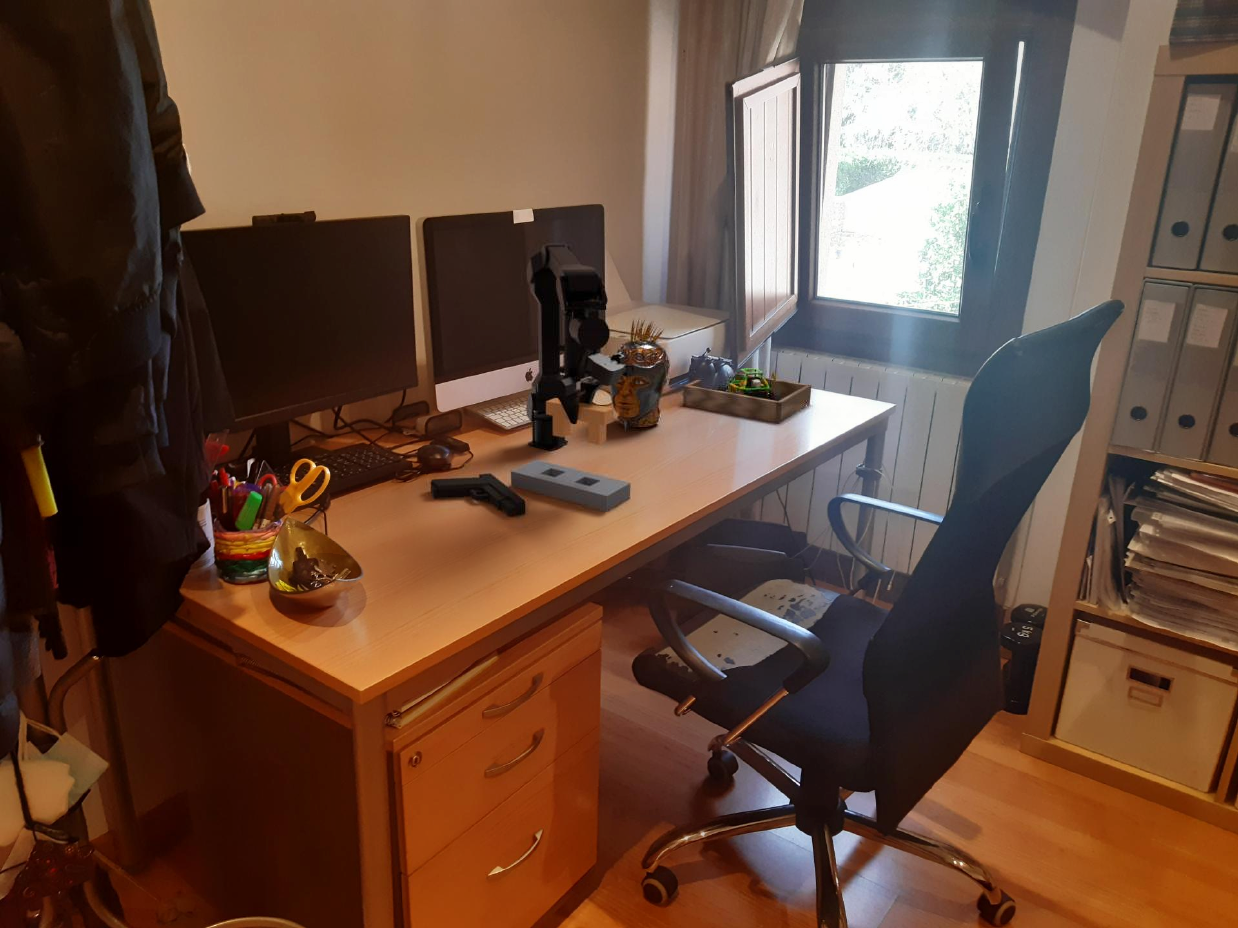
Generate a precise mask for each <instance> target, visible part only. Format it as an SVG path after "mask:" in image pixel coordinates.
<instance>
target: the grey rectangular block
mask: <svg viewBox="0 0 1238 928" xmlns="http://www.w3.org/2000/svg"><path fill="white" fill-rule="evenodd" d="M510 486H511V487H514V488H518V489H520V490H521V489H522V490H525V491H529V492H533V493H536V494H541V495H544V496H548V497H552V498H556V499H559V500H563V501H566V502H570V503H573V504H578V505H582V506H585V507H589V508H592V509H595V510H599V511H602V512H603V511H604V512H608V511H610V510H612V509H614V508H616V507H617V506H619V505H621V504H622V503H624V502H626V501H627V500H628V499H631V482H628V481H624V480H620V479H617V478H616V479H615V478H612V477H607V476H603V475H599V474H596V473H591V472H587V471H583V470H580V469H575V468H571V467H566V466H563V465H559V464H555V463H550V462H547V461H543V460H538V459H535V460H532V461H531V462H529V463H526V464H524V465H521V466H519V467H517V468H515V469H513V470H510Z"/></svg>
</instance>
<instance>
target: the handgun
mask: <svg viewBox="0 0 1238 928" xmlns="http://www.w3.org/2000/svg"><path fill="white" fill-rule="evenodd" d="M429 484H430V492H431V494H432V497H433V499H457V498H472V499H473V500H474V501H477V502H486V501H488V502H489V503H490V504H491V505H492V506H494V507H495V508H496V509H497V510H498V511H502V512H503V513H505V514H506V515H507V516H508V517H510V516H511V517H512V516H515V515H516V516H518V517H520V516H524V515H526V511H527V509H526V500H525V499H524V498H522V497H521V496H520V495H519V494H517V492H515V491H513V489H511V488H510V487H508V486H507V485H506V484H505V483H504V482H502V481H501V480H500V479H499V478H497V477H496V476H495V475H494V474H492V473H491V472H490V473H489V472H488V473H479V474H478V476H477V477H476V476H475V477H473V476H472V477H456V478H455V477H453V478H451V477H450V478H433V479H431V480H430V482H429Z"/></svg>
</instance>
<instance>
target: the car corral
mask: <svg viewBox="0 0 1238 928" xmlns="http://www.w3.org/2000/svg"><path fill="white" fill-rule="evenodd" d="M734 373H735V375H736V374H737V373H738V372H734ZM744 376H746V373H741V372H740V373H739V374H738V375H737V376H736V377H744ZM748 377H755V375H748ZM756 377H758V376H757V375H756ZM759 377H760V382H761V384H763V383H762V379H761V376H759ZM763 378H764V379H765V380H766V381H767V383H768V385H769V384H771V390H777V391H778V392H779V393H780V396H781V400H780V401H774V400H768V399H762V398H757V397H751V396H746V395H740V394H734V393H729V392H728V391H726V392H723V391H717V390H712V389H706V388H701V380H698V379H696V380H694V381H692V382H689V383H687V384H684V386H683V396H682V397H683V398H682V400H683V401H682V405H683V406H687V407H692V408H698V409H702V410H703V409H704V410H709V411H714V412H718V413H724V414H729V415H734V416H740V417H746V418H751V419H756V420H760V421H766V422H771V423H776V424H780V423H781V422H783V421H785V420H786V419H788V418H790V417H791V416H793V415H794V413H795V414H796V413H798V412H799V411H801V410H802V408H803V407H804V408H806V407H807V406H806V405H808V406H809V405H810V404H811V396H812V395H811V393H812V385H811V384H806V383H800V382H794V381H787V380H782V379H776V382H775V381H774V379H773V378H771V377H764V376H763ZM738 380H743V378H735V381H738ZM770 381H771V383H770ZM763 385H764V384H763ZM767 393H769V389H767ZM739 404H740V406H739ZM805 406H806V407H805ZM804 408H803V409H804ZM800 409H801V410H800ZM797 411H798V412H797ZM792 414H793V415H792ZM789 416H790V417H789Z"/></svg>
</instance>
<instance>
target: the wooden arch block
mask: <svg viewBox="0 0 1238 928" xmlns="http://www.w3.org/2000/svg"><path fill="white" fill-rule="evenodd" d="M546 414H548V415H553V435H554V436H559V437H565V438H566V437H568V436H569V435H571V422H570V420H569V418H568V416H567V414H566V412H565V410H564V408H563V406H562V404H561V402H560V401H559V399H558V398H554V399H551V400H549V401H546ZM577 421H581V422H584V423H585V422H586V423H587V424H588V425H587V426H588V430H587V431H588V434H587V436H588V437H587V441H588V442H587V443H590V444H593V445H599V446H600V445H601V444H603V443H606V442H607V425H609V424H611V423H613V422H614V407H608V406H601V405H596V404H592V405H591V404H586V403H580V402H579V411H578V420H577Z"/></svg>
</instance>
